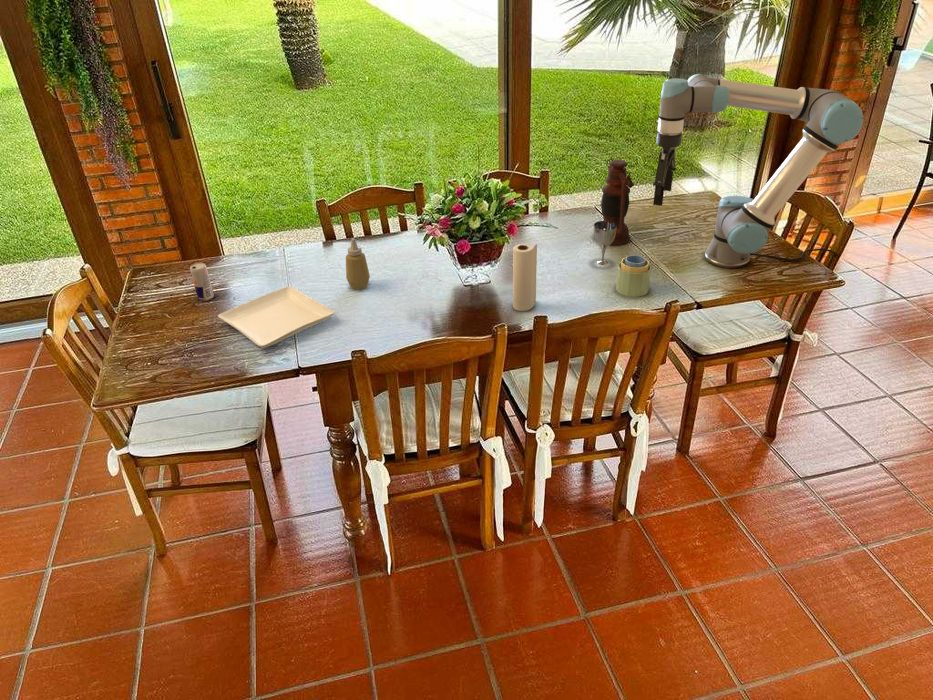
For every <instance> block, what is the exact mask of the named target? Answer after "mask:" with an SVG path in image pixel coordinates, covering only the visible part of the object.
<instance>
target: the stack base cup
mask: <svg viewBox="0 0 933 700" xmlns="http://www.w3.org/2000/svg"><path fill="white" fill-rule="evenodd" d="M616 274H617V275H616V283H615V284H616V285H615V290H616V291H617V292H618V294H620V295H623V296H626V297H631V298H637V297H642V296H645V295H647V294H648V293H649V289H650V283H651V282H650V281H651V274H652V265H651V264H650V263H649V267H648V271H647V272H644V273H629V272H626V271H624V270H622V269H621V261H620V262H618V264H617V273H616Z"/></svg>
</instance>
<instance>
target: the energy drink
mask: <svg viewBox="0 0 933 700" xmlns="http://www.w3.org/2000/svg"><path fill="white" fill-rule="evenodd" d="M189 271H190V275H191V278H192V283H193V286H194V290H195V293H196V297H197V299H198V300H199V301H200V302H207V301H209V300H212V299H213V298H214V297H215V294H214V289H213V287H212V286H213V285H212V282H211V279H210V275H209V271H208V267H207V265H206V263H203V262H197V263H194V264H191V265H190V267H189Z"/></svg>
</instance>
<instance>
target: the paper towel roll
mask: <svg viewBox="0 0 933 700" xmlns="http://www.w3.org/2000/svg"><path fill="white" fill-rule="evenodd" d="M537 262H538V244H537V243H536V244H535V245H534V246H532V245H531V244H529V243H528V244H527V243H518V244H515V245H514V246H513V247H512V307H513V308H512V309H514V310H515V311H518V312H527V311H530V310H531V309H532V308H533V307H534V305H535V304H536V303H537V266H538V265H537V264H538V263H537Z"/></svg>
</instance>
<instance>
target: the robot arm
mask: <svg viewBox="0 0 933 700" xmlns="http://www.w3.org/2000/svg"><path fill="white" fill-rule="evenodd" d="M727 107H733V108H739V109H747V110H752V111H753V110H754V111H759V112H760V111H761V112H767V113H773V114H782V115H789V116H790V118H791V119H792V120H799V121H803V122H805V123H806V124H805V126H804V127H803V129H802V138H801V139H800V140H799V142H797V144H796V145H795V146H794V148H793V149H792V150H791V152H790V153H789V154H788V156H787V157H786V158H785V159H784V161H783V162H782V163H781V164H780V165H779V167H778V168H777V169H776V170H775V172H774V173H773V174H772V176H771V177H770V179H768V181H767V182H766V184H764V186H763V187H762V188H761V190H760V191H759V193H758V194H757V195H756V196H755V198H751V197H748V196H743V195H729V196H723V197H721V198H720V200H719V203H718V206H717V208H718V209H717V214H716V221H715V226H714V232H713V237H712V239H711V241H710V243H709V245H708V246H707V248H706V250H705V253H704V254H705V255H704V258H705V261H707V262H708V263H709V264H711V265H714V266H716V267H719V268H722V269H723V268H724V269H741V268H743V267H746V266H748V265H749V264H750V260H751V256H756V257H763V258H764V257H765V258H771V259H777V260H783V261H790V262H793V261H795V262H796V261H799V260H802V259H803V257H804V256H805V255H806V253H808V252H809V253H810V252H817V251H818V252H820V251H823V252H829V253H831V254H833V255H834V256H838V254H837V252H835V251H834V250H832V249H828V248H811V249H806V250H804V251H803V252H802V253H801V255H800V256H799V257H797V258H787V257H781V256H776V255H771V254H770V255H769V254H762V253H757V252H759V251H760V250H762V249H763V248H764V247H765V246H766V244H767V242H768V239H769V234H768V233H769V232H770V230H771V229H772V228H773V227H774V226H775V224H776V221H775V217H776V216H777V214H778V213H779V212H780V211H781V209H782V208H783V207H784V206H785V205H786V204H787V202H788V201H789V200H790V198H792V196H793V195H794V194H795V193H796V191H797V190H798V189H799V188H800V186H802V184H803V183H804V182H805V180H806V179H807V178H808V177H809V175H810V174H811V173H812V171H813V170H814V169H815V168H816V167H817V166H818V164H819V163H820V162H821V161H822V160H823V159H824V157H825V156H826V155H827V154H828V153H831V152H835V151H836V150H837V149H838V148H839V147H840V146H841V145H842V144H844V143H848V142H850V141H851V140H853V139H854V138H855V137H857V135H858V134H859V133H860V131H861V129H862V128H863V124H864V113H863V111H862V109H861V108H860V106H859V105H858V104H857V103H856V101H854V100H852V99H850V98H848V97H847V96H846V95H845V94H843V93H841V92H839V91H838V90H837V91H836V90H833V89H827V88H826V89H824V88H817V87H816V88H814V87H805V86H800V87H798V88H797V89H793V88H786V87H781V86H771V85H765V84H757V83H750V82H744V81H743V82H742V81H736V80H729V79H721V78H715V77H709V76H708V77H707V75H705V74H702V73H696V74H693V75H691V76H690V77H689V78H688V79H686V78H676V77H675V78H674V77H673V78H668V79H666V80H664V81H663V83H662V87H661V94H660V102H659V112H658V120H656V124H657V131H658V132H657V133H656V141H655V143H656V145H657V146H658V147H661V148H662V149H661V151H659V154H658V162H657V168H656V173H655V178H654V182H652V186H654V194H653V206H663V203H664V194H665V193H664V192H671V191H672V186H673V177H674V172H676V171H677V167H676V148H678V147H680V146H681V144H682V139H683V133H682V132H683V131H684V125H685V124H684V123H685V114H687V113H712V114H714V113H721V112H725V111H726V109H727Z"/></svg>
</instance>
